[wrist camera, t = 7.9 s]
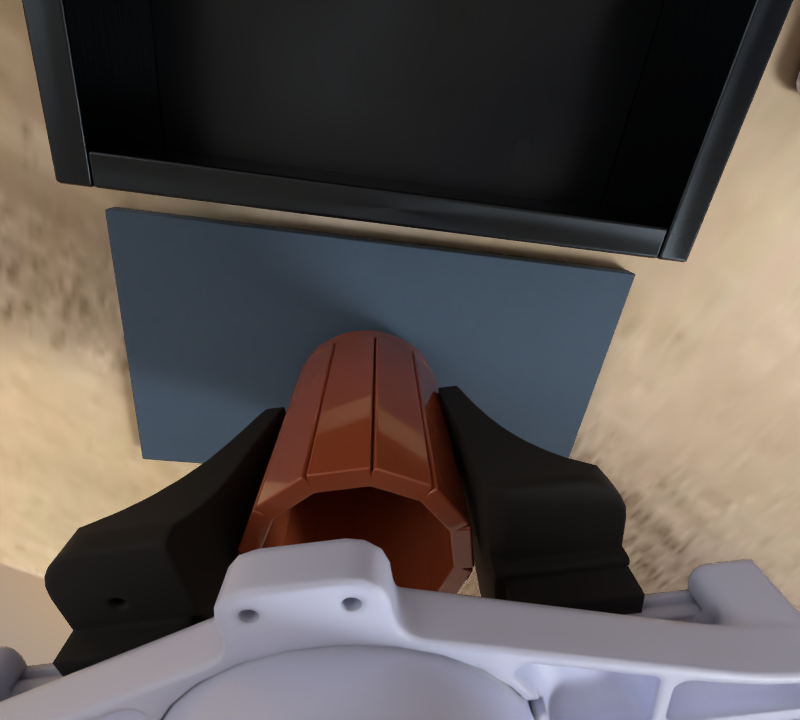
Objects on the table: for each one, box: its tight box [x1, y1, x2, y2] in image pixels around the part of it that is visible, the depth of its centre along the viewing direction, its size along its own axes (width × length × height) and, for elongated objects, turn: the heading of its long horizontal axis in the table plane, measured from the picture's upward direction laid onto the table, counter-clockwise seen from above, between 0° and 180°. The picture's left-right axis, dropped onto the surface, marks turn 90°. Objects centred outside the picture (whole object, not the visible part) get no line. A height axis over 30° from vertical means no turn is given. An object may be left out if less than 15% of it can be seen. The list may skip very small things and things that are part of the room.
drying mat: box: [105, 207, 635, 463], centre depth 17 cm, size 18×10×1 cm, turn 83°
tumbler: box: [238, 330, 474, 594], centre depth 13 cm, size 5×5×8 cm
